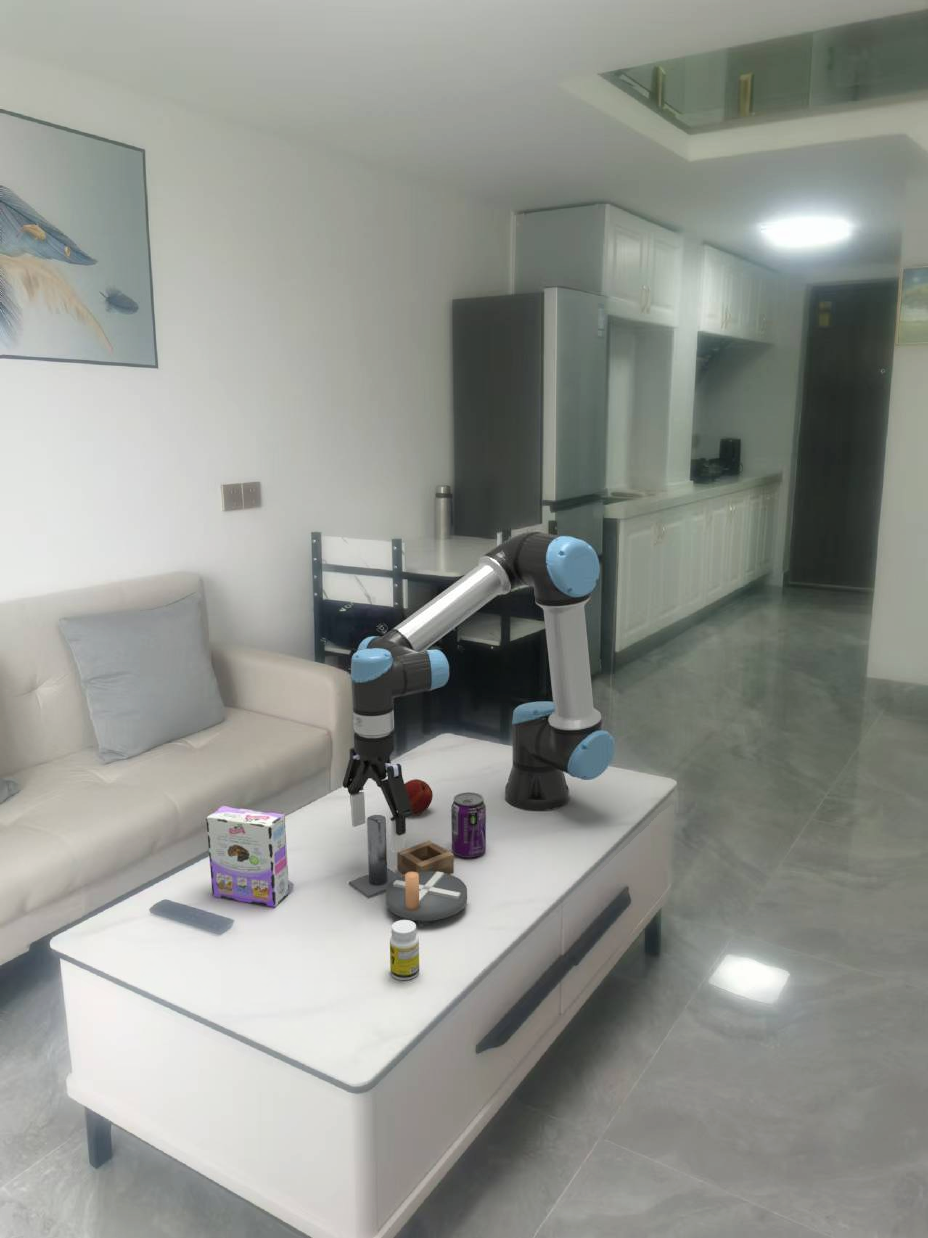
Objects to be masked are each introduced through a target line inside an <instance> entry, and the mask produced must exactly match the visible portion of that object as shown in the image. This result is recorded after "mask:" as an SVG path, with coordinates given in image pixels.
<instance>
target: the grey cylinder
mask: <svg viewBox="0 0 928 1238" xmlns="http://www.w3.org/2000/svg"><path fill="white" fill-rule="evenodd" d="M366 826H367V828H366V829H367V831H366V832H367V863H368V866H367V867H368V874H369V883H370V884H371V885H375V886H380V885H384V884H386V883H387V868H388V850H387V849H388V848H387V846H388V845H387V818H386V816H384V815H381V814H372V815H370V816H368V817H366Z"/></svg>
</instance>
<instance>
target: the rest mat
mask: <svg viewBox="0 0 928 1238" xmlns="http://www.w3.org/2000/svg"><path fill="white" fill-rule="evenodd" d="M399 877H401V875H399V874H398V873H397V872H395V871H393V870H392V869H390V868H389V867H387V883H386V884H384V885H380V886H375V885H371V884H370V883H369V873H368V874H366V875H362V876H360V877H358V878H355V879H351V880H349V881H348V885H349V886H350V887H352V888H353V889H354V890H356V891H358V892H359V893H360V894H361V895H362V896H364V897H366V898H367V899H371V898H374V897H377V896H379V895H383V894H384V893H386V889H387V887H388V885H389V884H390V883H391V882H392V881H394V880H395V879H397V878H399Z"/></svg>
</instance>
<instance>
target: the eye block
mask: <svg viewBox="0 0 928 1238" xmlns="http://www.w3.org/2000/svg"><path fill="white" fill-rule="evenodd" d="M454 854H455V853H453V852H450V851H448V850H447V849H446V848H443V847H442V846H439V845H438V844H436V843H434V842H433V841H432V840H426V841H424V842H423V841H422V842H421V843H419V844H415V845H413V846H410V847H407V848H403V849H400V850H398V851H396V859H397V860H396V861H397V864H396V865H397V871H398V872H399V873H401V875H405V874H406V873H408V872H423V871H434V872H437V871H438V872H443V873H447V874H450V875H452V874H454V872H455V869H454V868H455V867H454V866H455V864H454V861H455V859H454V858H455V857H454Z"/></svg>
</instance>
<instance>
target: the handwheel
mask: <svg viewBox="0 0 928 1238" xmlns="http://www.w3.org/2000/svg"><path fill="white" fill-rule="evenodd" d="M400 876H401V875H400ZM467 902H468V887H467V885H466V884H465V882H464V881H463V880H462V879H460V878H459V877H457V876H454V875H452V874H447V873H443V872H438V871H437V872H434V871H423V872H408V873H406V874H405V875H404V874H402V876H401V877H399V878H397V879H395V880H394V881H392V882H391V883H390V884H389V885H388V887H387V889H386V892H385V904H386V907H387V909H388V910H390V912H391V913H393V914H395V915H397V916H399V917H401V918H404V919H406V920H410V921H414V920H419V921H429V920H434V921H436V920H437V921H438V920H441V919H442V920H443V919H446V918H449V917H451V916H454V915H456V914H457V913H459V912H460V911H462V910H463V908H465V906H466V904H467Z"/></svg>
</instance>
